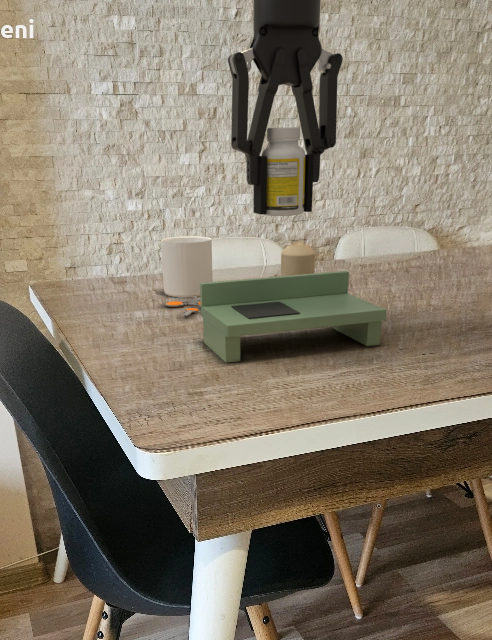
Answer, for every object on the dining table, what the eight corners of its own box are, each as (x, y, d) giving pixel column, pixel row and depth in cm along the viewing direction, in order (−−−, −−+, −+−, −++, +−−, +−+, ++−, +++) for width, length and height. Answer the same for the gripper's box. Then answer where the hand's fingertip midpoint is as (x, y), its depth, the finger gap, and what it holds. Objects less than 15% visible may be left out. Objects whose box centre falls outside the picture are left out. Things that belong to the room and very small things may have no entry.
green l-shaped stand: (383, 346, 89) (389, 285, 86) (228, 365, 83) (226, 300, 80) (342, 325, 99) (346, 270, 96) (201, 340, 94) (199, 282, 90)
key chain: (160, 301, 116) (159, 296, 115) (199, 297, 118) (199, 292, 118) (182, 317, 105) (181, 312, 105) (225, 313, 107) (225, 307, 107)
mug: (217, 295, 120) (216, 241, 116) (167, 299, 118) (164, 244, 114) (204, 283, 130) (203, 233, 126) (158, 286, 129) (155, 235, 124)
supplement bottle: (277, 211, 88) (279, 127, 84) (311, 213, 85) (315, 126, 80) (252, 215, 85) (252, 128, 80) (286, 217, 81) (289, 127, 77)
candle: (281, 301, 115) (282, 240, 110) (313, 302, 114) (316, 240, 109) (278, 308, 110) (279, 245, 105) (312, 309, 109) (314, 245, 104)
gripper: (347, -3, 79) (335, 206, 90) (198, -8, 75) (204, 213, 85) (378, -16, 73) (361, 211, 84) (217, -22, 68) (222, 219, 79)
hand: (282, 211), depth 85 cm, fingers closed on supplement bottle, 5 cm apart
